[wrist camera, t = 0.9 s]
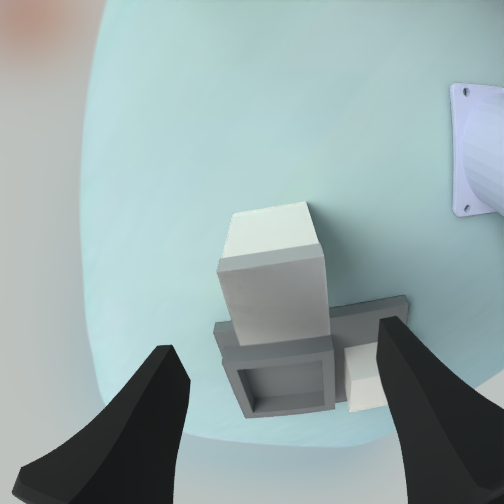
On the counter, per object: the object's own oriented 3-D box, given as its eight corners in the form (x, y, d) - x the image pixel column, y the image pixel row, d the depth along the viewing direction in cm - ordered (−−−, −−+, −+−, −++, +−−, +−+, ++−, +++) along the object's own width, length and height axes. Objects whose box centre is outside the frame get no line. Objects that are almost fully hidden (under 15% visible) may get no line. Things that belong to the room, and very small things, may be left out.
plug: (306, 200, 17) (324, 255, 12) (314, 264, 19) (330, 334, 13) (232, 212, 17) (216, 271, 12) (247, 274, 19) (239, 346, 14)
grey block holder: (404, 294, 19) (424, 334, 16) (390, 383, 24) (401, 419, 21) (215, 322, 21) (206, 366, 18) (245, 403, 26) (243, 441, 22)
